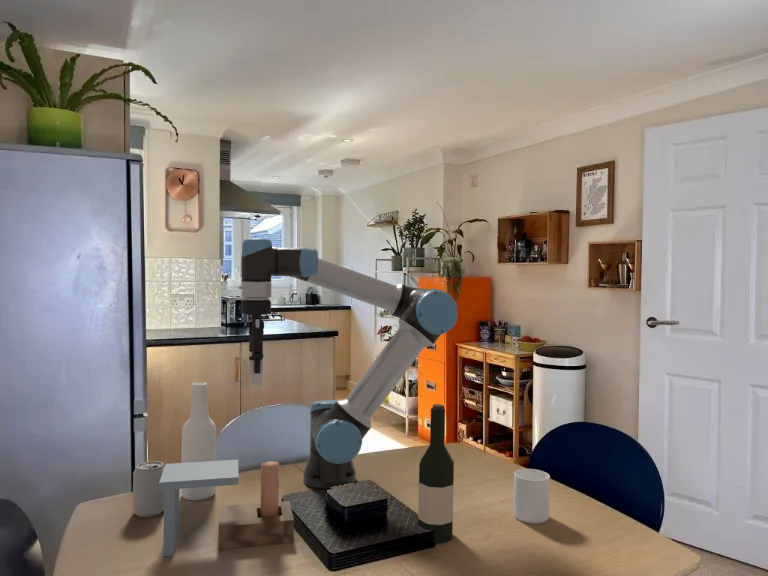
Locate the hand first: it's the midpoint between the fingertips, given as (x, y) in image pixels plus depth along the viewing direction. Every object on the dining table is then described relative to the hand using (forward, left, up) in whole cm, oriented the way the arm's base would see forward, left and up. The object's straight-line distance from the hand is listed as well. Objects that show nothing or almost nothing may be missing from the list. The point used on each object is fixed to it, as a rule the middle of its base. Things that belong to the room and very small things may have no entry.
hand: (255, 381), depth 147 cm
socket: (0, +19, -32) cm, 37 cm away
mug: (-67, +22, -32) cm, 77 cm away
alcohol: (+14, -8, -32) cm, 36 cm away
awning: (+12, +19, -32) cm, 39 cm away
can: (+25, +1, -32) cm, 41 cm away
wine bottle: (-40, +28, -32) cm, 58 cm away
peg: (-3, +19, -32) cm, 37 cm away
